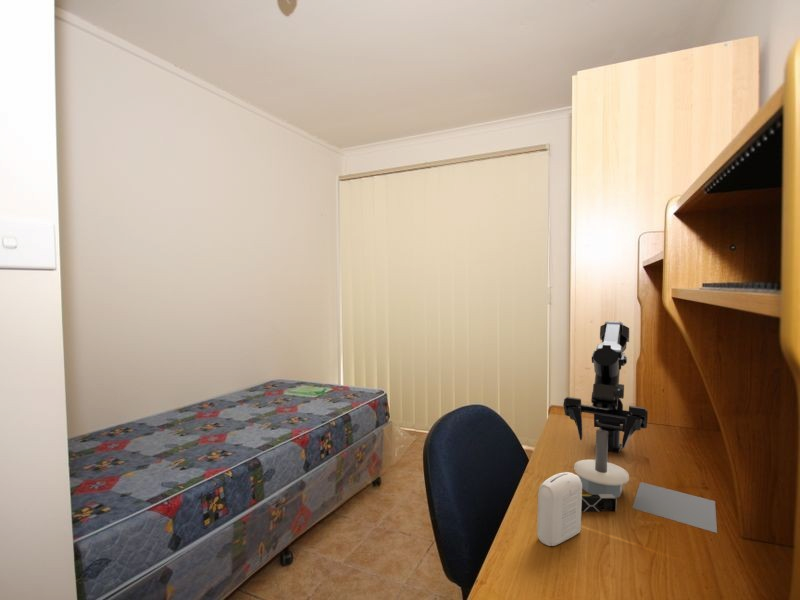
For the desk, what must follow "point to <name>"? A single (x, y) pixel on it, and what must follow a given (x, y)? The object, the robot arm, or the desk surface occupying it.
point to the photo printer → (559, 508)
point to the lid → (601, 465)
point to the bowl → (600, 488)
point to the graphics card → (598, 503)
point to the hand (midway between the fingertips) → (601, 443)
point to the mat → (676, 506)
